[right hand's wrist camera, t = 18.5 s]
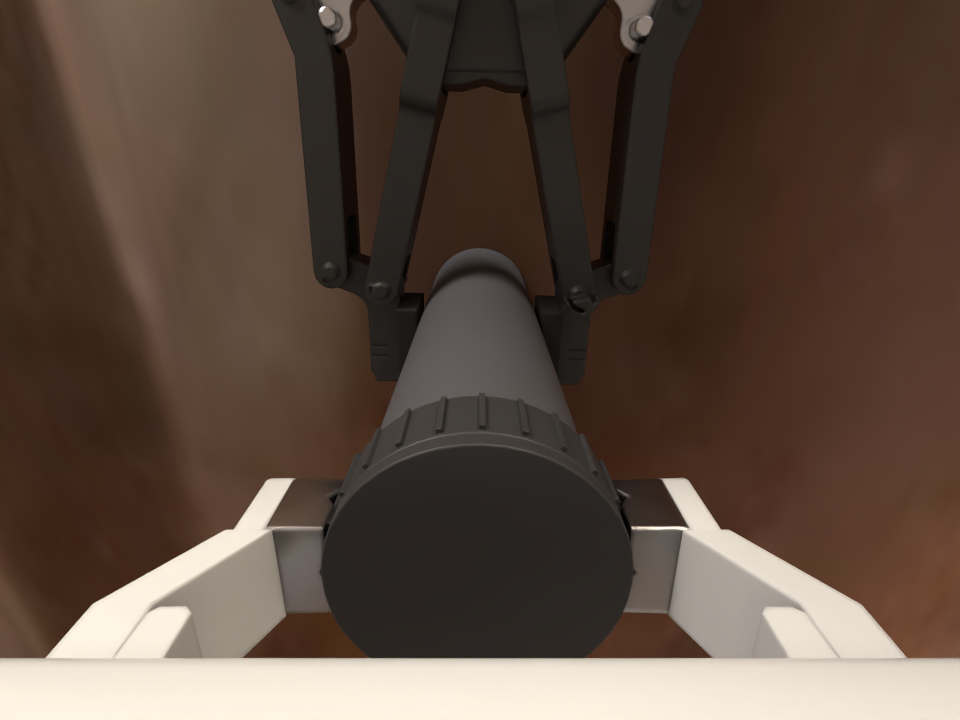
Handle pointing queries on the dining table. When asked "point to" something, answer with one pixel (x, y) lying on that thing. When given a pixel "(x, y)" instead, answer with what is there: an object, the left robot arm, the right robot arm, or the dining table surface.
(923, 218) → the dining table surface
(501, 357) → the dark grey cylinder
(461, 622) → the lid
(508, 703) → the right robot arm
